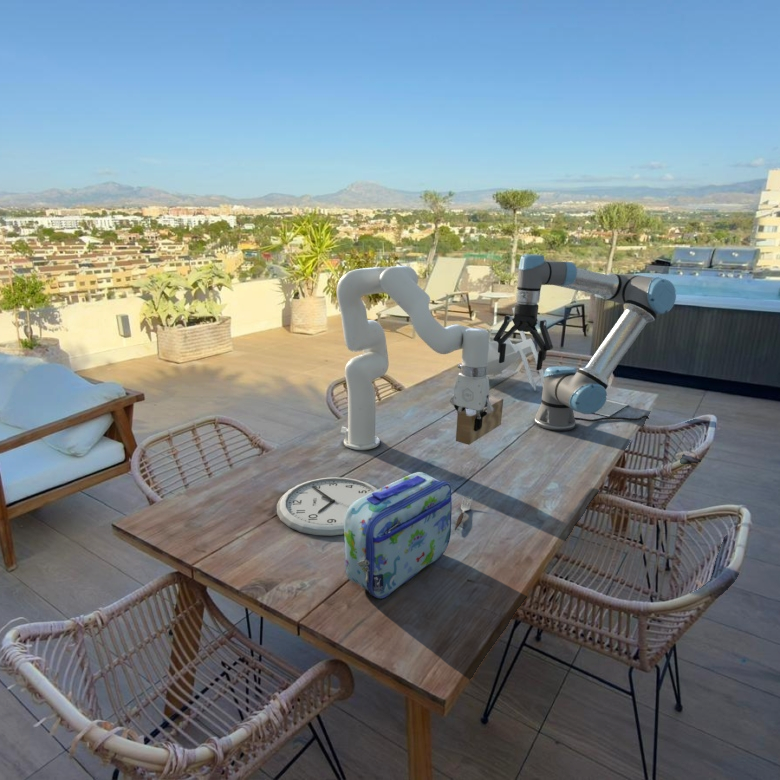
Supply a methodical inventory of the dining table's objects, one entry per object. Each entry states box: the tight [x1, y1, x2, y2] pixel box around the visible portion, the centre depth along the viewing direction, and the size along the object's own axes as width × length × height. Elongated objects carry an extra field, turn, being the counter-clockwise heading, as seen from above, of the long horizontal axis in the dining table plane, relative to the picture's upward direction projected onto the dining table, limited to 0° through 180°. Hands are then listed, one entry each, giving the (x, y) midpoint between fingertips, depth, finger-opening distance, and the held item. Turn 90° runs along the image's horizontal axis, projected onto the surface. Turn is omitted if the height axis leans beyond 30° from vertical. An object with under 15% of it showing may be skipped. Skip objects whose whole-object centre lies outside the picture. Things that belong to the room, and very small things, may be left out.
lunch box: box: [343, 471, 453, 599], centre depth 113 cm, size 26×11×21 cm, turn 134°
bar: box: [455, 395, 504, 446], centre depth 165 cm, size 22×5×9 cm, turn 143°
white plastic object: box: [486, 306, 545, 391], centre depth 258 cm, size 37×45×31 cm
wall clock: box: [276, 476, 379, 537], centre depth 142 cm, size 30×2×30 cm
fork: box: [454, 495, 473, 531], centre depth 138 cm, size 3×16×2 cm, turn 160°
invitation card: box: [594, 399, 629, 417], centre depth 226 cm, size 21×1×15 cm
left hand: (469, 427), depth 160 cm, fingers closed on bar, 4 cm apart
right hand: (519, 366), depth 177 cm, fingers open, 13 cm apart
